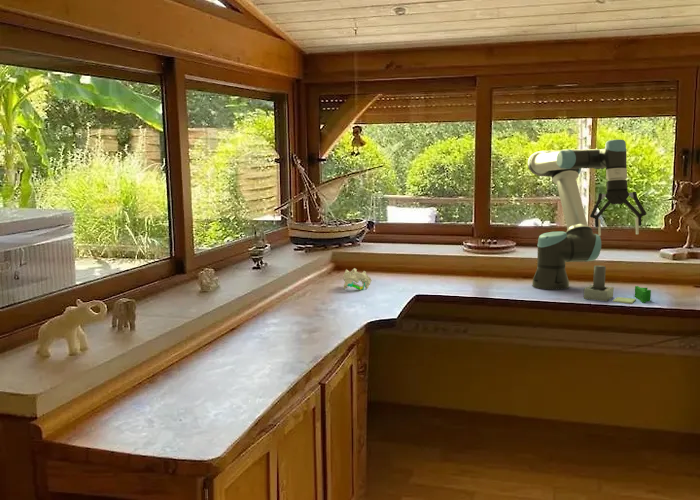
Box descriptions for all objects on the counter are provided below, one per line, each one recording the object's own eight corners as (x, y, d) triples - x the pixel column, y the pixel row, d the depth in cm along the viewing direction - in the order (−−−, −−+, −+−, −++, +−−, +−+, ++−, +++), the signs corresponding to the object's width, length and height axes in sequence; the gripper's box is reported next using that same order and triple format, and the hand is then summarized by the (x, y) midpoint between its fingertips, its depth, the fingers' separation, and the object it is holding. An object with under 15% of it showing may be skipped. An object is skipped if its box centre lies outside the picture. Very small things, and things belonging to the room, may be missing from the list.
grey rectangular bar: (591, 298, 281) (592, 266, 279) (594, 296, 284) (595, 265, 283) (602, 299, 278) (604, 267, 276) (605, 297, 282) (607, 266, 280)
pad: (612, 301, 275) (612, 300, 274) (617, 298, 280) (617, 296, 280) (631, 303, 271) (631, 302, 271) (635, 300, 276) (635, 298, 276)
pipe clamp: (652, 303, 272) (653, 292, 271) (642, 303, 272) (643, 291, 272) (644, 297, 283) (644, 285, 282) (634, 297, 283) (635, 285, 283)
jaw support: (333, 284, 298) (340, 266, 303) (339, 296, 304) (346, 278, 310) (360, 286, 293) (366, 268, 299) (365, 298, 300) (371, 280, 305)
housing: (583, 298, 280) (584, 288, 280) (590, 294, 288) (590, 285, 287) (607, 301, 275) (607, 291, 275) (612, 297, 283) (613, 287, 282)
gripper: (583, 181, 273) (584, 236, 273) (652, 177, 266) (654, 233, 266) (582, 182, 280) (583, 236, 280) (650, 179, 273) (651, 234, 273)
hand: (618, 235), depth 273 cm, fingers open, 13 cm apart
